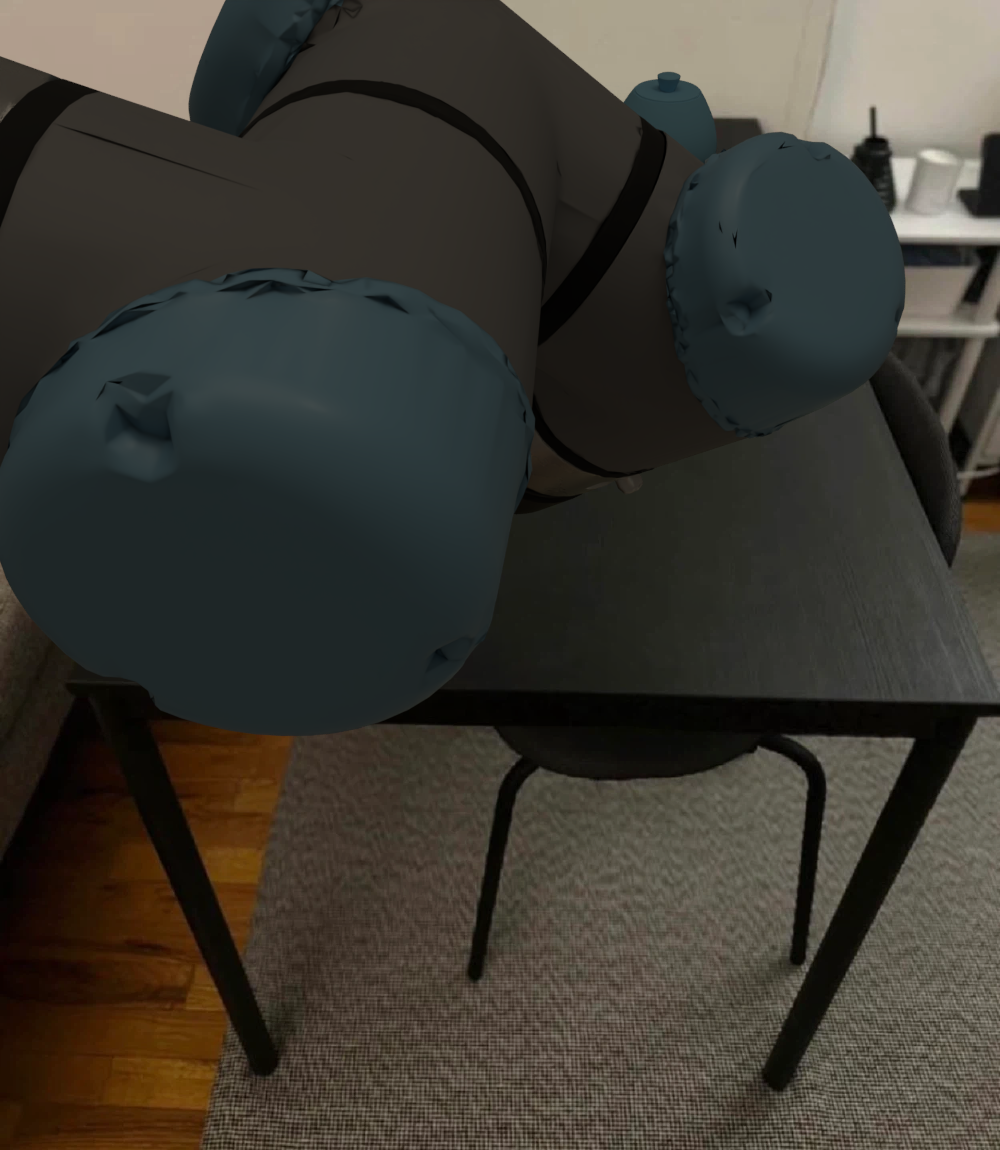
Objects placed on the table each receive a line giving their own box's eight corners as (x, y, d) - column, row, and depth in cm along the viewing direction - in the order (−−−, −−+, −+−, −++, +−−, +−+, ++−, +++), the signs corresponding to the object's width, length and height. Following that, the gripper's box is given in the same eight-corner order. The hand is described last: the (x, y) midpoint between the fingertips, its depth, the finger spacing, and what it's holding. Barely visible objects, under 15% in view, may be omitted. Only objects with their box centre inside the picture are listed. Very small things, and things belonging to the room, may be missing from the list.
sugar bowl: (730, 179, 127) (745, 88, 119) (625, 191, 125) (633, 99, 116) (689, 138, 137) (701, 51, 129) (592, 148, 135) (597, 61, 127)
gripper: (331, 638, 33) (224, 656, 52) (782, 381, 44) (559, 473, 63) (228, 448, 32) (157, 537, 51) (714, 234, 43) (508, 372, 62)
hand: (378, 502), depth 57 cm, fingers open, 13 cm apart
